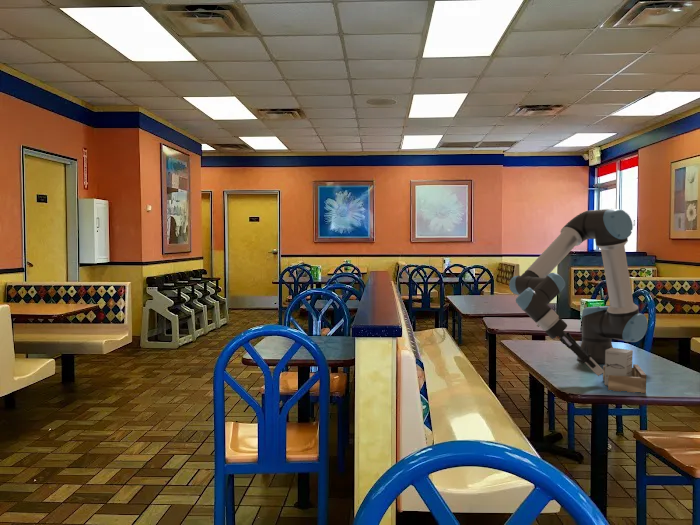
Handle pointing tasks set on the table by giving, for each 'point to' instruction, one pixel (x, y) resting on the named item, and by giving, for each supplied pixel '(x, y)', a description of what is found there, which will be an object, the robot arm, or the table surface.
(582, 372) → the table surface
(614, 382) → the brown wooden frame
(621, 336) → the robot arm
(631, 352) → the supplement box
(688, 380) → the table surface
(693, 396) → the table surface
